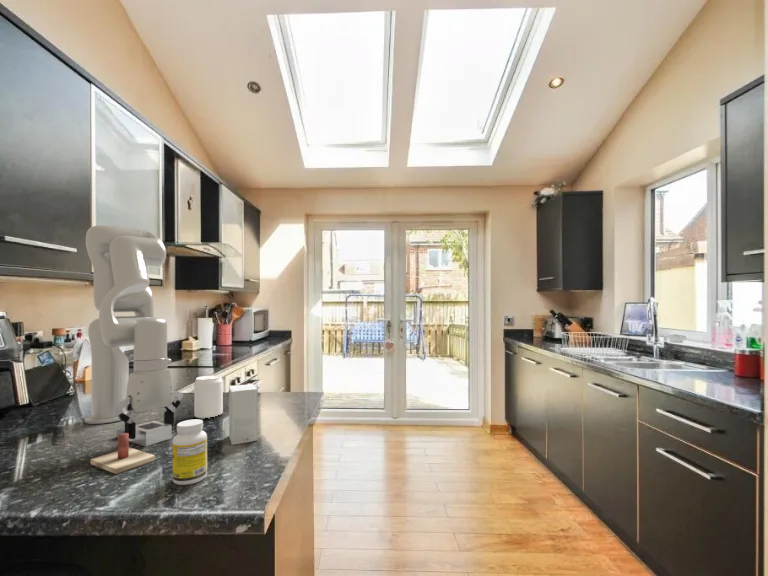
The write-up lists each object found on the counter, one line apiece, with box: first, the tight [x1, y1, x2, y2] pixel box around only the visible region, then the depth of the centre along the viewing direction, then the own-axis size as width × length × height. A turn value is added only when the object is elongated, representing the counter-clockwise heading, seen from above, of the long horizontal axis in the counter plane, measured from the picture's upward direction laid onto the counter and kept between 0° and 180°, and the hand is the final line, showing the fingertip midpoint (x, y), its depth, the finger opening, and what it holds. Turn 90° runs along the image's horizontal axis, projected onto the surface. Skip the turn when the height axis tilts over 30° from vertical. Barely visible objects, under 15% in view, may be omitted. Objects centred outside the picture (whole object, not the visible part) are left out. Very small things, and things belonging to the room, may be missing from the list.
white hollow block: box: [129, 420, 173, 447], centre depth 100 cm, size 8×6×4 cm
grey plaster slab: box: [116, 422, 143, 438], centre depth 105 cm, size 3×6×2 cm, turn 149°
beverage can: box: [193, 374, 224, 420], centre depth 122 cm, size 8×8×12 cm
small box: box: [228, 383, 259, 446], centre depth 100 cm, size 8×6×13 cm
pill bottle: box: [172, 418, 208, 486], centre depth 77 cm, size 6×6×11 cm
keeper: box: [89, 433, 156, 475], centre depth 86 cm, size 11×8×6 cm
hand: (150, 432), depth 100 cm, fingers open, 9 cm apart
